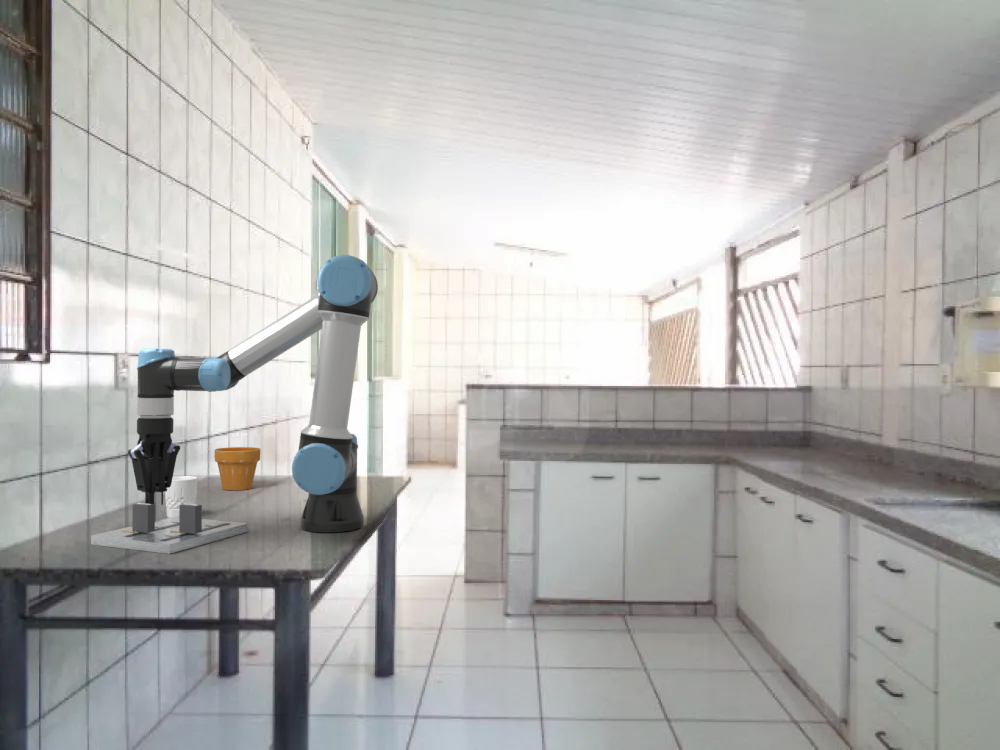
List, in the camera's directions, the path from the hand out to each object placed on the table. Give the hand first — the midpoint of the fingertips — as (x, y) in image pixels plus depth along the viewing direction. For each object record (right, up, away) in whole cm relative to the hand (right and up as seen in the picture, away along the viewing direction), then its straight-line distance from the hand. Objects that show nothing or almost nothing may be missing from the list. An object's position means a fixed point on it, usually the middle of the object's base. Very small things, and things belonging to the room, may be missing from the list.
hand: (153, 520), depth 168 cm
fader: (+10, -2, -3) cm, 10 cm away
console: (+4, -4, +1) cm, 6 cm away
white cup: (-6, -4, +27) cm, 28 cm away
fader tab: (-1, -2, -3) cm, 4 cm away
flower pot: (-8, -4, +75) cm, 75 cm away
